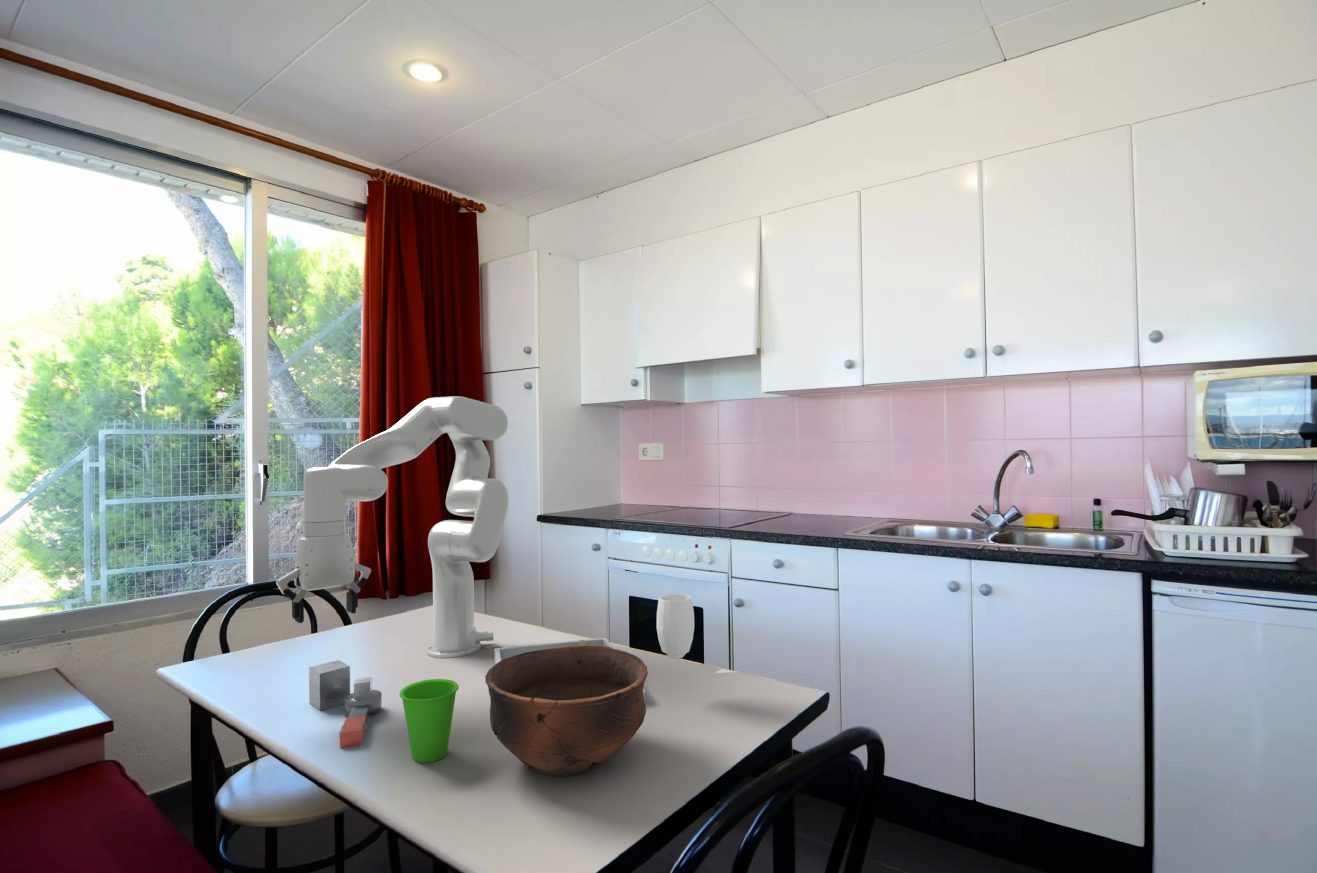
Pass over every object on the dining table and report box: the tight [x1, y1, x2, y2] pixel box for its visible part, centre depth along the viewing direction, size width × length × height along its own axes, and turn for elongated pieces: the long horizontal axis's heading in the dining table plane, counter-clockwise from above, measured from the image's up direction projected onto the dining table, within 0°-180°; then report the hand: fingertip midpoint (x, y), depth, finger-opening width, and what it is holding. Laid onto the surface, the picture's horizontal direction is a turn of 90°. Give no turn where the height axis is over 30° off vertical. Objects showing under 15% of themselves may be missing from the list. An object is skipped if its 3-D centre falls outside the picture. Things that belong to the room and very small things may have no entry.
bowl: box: [484, 645, 649, 778], centre depth 105 cm, size 25×25×15 cm
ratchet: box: [339, 676, 383, 749], centre depth 120 cm, size 18×6×6 cm, turn 16°
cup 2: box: [656, 593, 695, 660], centre depth 127 cm, size 7×7×21 cm
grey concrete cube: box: [308, 659, 351, 711], centre depth 131 cm, size 6×6×7 cm
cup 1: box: [399, 678, 460, 764], centre depth 108 cm, size 9×9×11 cm
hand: (325, 616), depth 131 cm, fingers open, 9 cm apart
